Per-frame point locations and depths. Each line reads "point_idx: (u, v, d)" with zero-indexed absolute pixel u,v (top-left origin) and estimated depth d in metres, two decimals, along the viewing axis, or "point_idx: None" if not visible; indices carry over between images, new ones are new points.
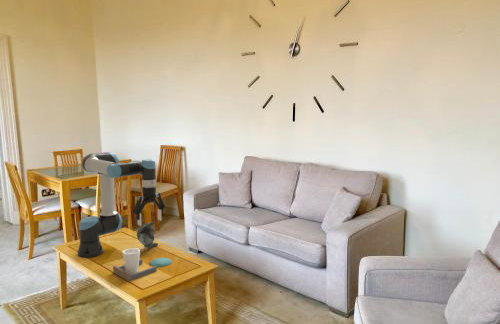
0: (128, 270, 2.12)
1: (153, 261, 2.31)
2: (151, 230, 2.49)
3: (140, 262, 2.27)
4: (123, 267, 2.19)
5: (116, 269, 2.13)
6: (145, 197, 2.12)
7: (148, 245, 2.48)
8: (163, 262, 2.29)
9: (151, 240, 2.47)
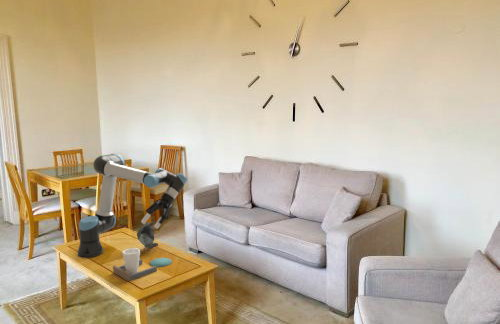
0: (128, 270, 2.12)
1: (153, 261, 2.31)
2: (151, 230, 2.49)
3: (140, 262, 2.27)
4: (123, 267, 2.19)
5: (116, 269, 2.13)
6: None
7: (148, 245, 2.48)
8: (163, 262, 2.29)
9: (151, 240, 2.47)
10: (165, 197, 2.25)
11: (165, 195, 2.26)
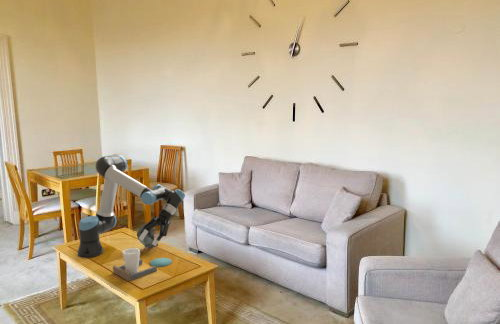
0: (128, 270, 2.12)
1: (153, 261, 2.31)
2: (151, 230, 2.49)
3: (140, 262, 2.27)
4: (123, 267, 2.19)
5: (116, 269, 2.13)
6: None
7: (148, 245, 2.48)
8: (163, 262, 2.29)
9: (151, 240, 2.47)
10: (163, 214, 2.25)
11: (163, 212, 2.26)
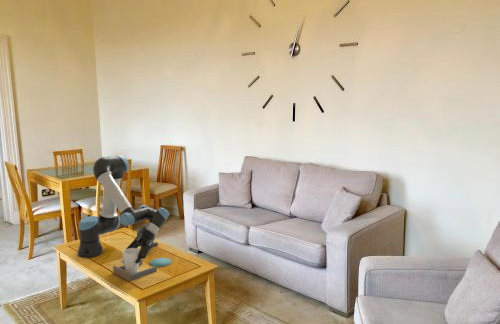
0: (128, 270, 2.12)
1: (153, 261, 2.31)
2: None
3: (140, 262, 2.27)
4: (123, 267, 2.19)
5: (116, 269, 2.13)
6: None
7: None
8: (163, 262, 2.29)
9: None
10: (145, 234, 2.18)
11: (145, 231, 2.18)
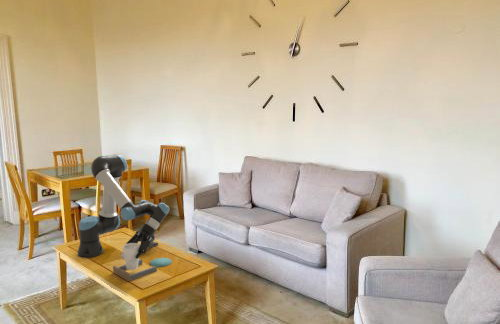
0: (128, 265, 2.12)
1: (153, 261, 2.31)
2: None
3: (140, 262, 2.27)
4: (123, 267, 2.19)
5: (116, 269, 2.13)
6: None
7: None
8: (163, 262, 2.29)
9: None
10: (146, 229, 2.17)
11: (146, 226, 2.18)
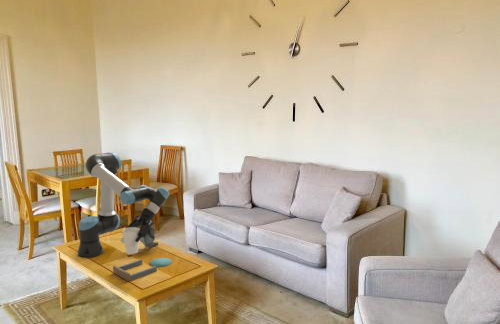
0: (128, 249, 2.11)
1: (153, 261, 2.31)
2: (152, 230, 2.50)
3: (140, 262, 2.27)
4: (123, 267, 2.19)
5: (116, 269, 2.13)
6: None
7: (149, 244, 2.49)
8: (163, 262, 2.29)
9: (152, 239, 2.48)
10: (145, 213, 2.16)
11: (145, 210, 2.17)
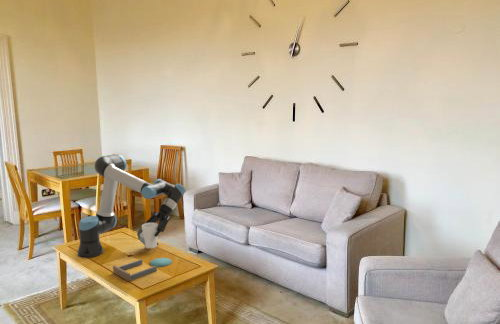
0: (147, 243, 2.19)
1: (153, 261, 2.31)
2: None
3: (140, 262, 2.27)
4: (123, 267, 2.19)
5: (116, 269, 2.13)
6: None
7: None
8: (163, 262, 2.29)
9: None
10: (163, 208, 2.24)
11: (163, 206, 2.25)
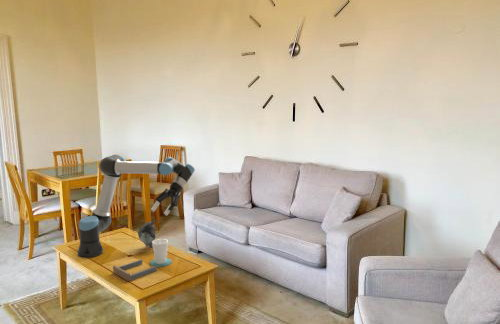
0: (157, 259, 2.27)
1: (153, 261, 2.31)
2: (152, 229, 2.51)
3: (140, 262, 2.27)
4: (123, 267, 2.19)
5: (116, 269, 2.13)
6: None
7: (149, 244, 2.50)
8: None
9: (152, 239, 2.49)
10: (174, 186, 2.37)
11: (174, 184, 2.38)
